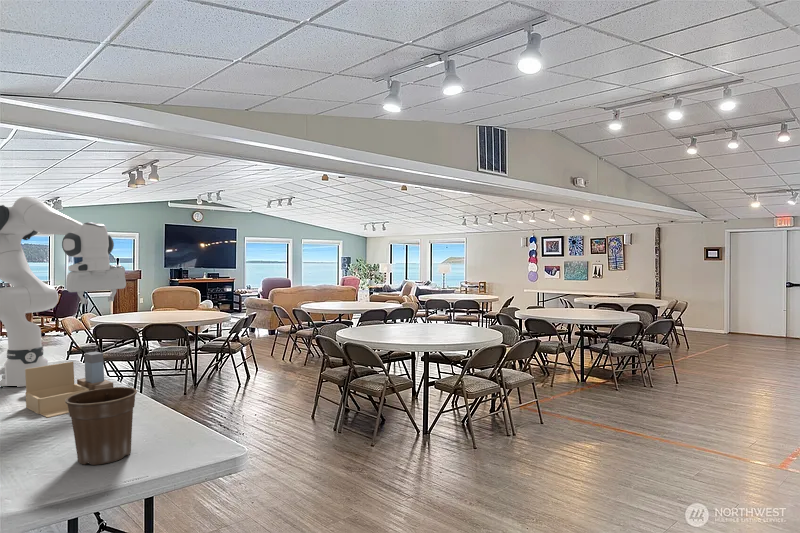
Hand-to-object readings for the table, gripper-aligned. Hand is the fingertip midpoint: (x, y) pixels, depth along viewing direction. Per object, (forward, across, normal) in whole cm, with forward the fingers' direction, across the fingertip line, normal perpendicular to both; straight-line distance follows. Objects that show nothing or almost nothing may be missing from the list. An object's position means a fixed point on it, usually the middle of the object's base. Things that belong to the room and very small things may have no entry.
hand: (97, 302), depth 209 cm
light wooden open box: (+33, +18, +13) cm, 40 cm away
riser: (+33, +6, +10) cm, 35 cm away
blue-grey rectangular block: (+27, +6, +10) cm, 29 cm away
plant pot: (+34, +28, +72) cm, 84 cm away
